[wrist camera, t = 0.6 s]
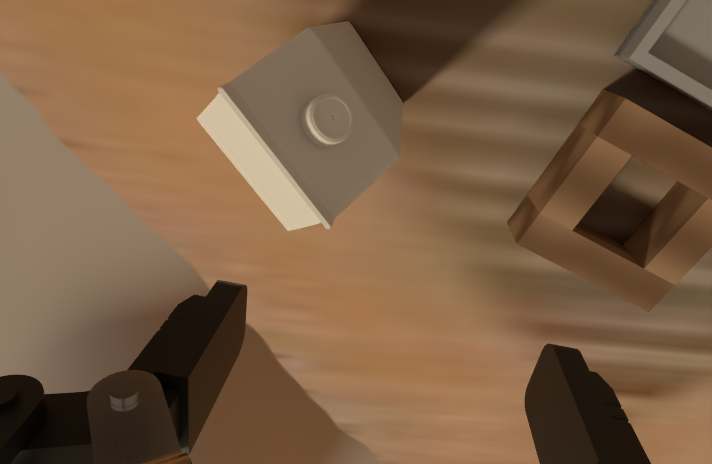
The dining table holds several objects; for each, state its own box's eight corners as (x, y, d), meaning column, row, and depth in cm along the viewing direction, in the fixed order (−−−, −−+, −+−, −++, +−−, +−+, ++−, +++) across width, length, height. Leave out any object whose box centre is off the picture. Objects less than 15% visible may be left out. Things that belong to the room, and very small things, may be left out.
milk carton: (330, 154, 39) (267, 268, 21) (274, 79, 37) (155, 139, 19) (404, 103, 36) (399, 185, 19) (349, 20, 34) (289, 28, 17)
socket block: (603, 89, 35) (625, 98, 31) (736, 165, 36) (773, 182, 32) (507, 222, 40) (517, 243, 36) (627, 285, 41) (648, 311, 37)
